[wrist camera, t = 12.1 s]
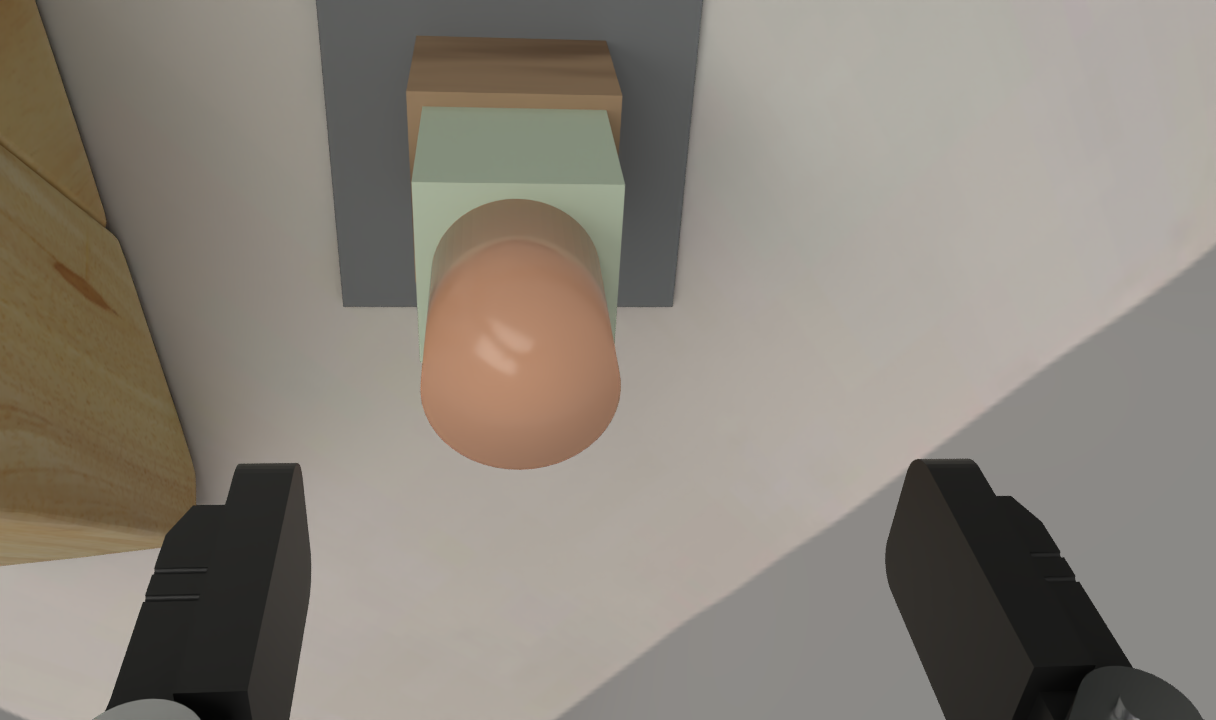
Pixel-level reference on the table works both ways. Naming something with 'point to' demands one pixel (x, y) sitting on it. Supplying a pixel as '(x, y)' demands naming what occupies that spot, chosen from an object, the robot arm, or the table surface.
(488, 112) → the top block
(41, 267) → the knife block
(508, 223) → the tan rounded cylinder
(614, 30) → the mat
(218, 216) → the table surface
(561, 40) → the bottom block
